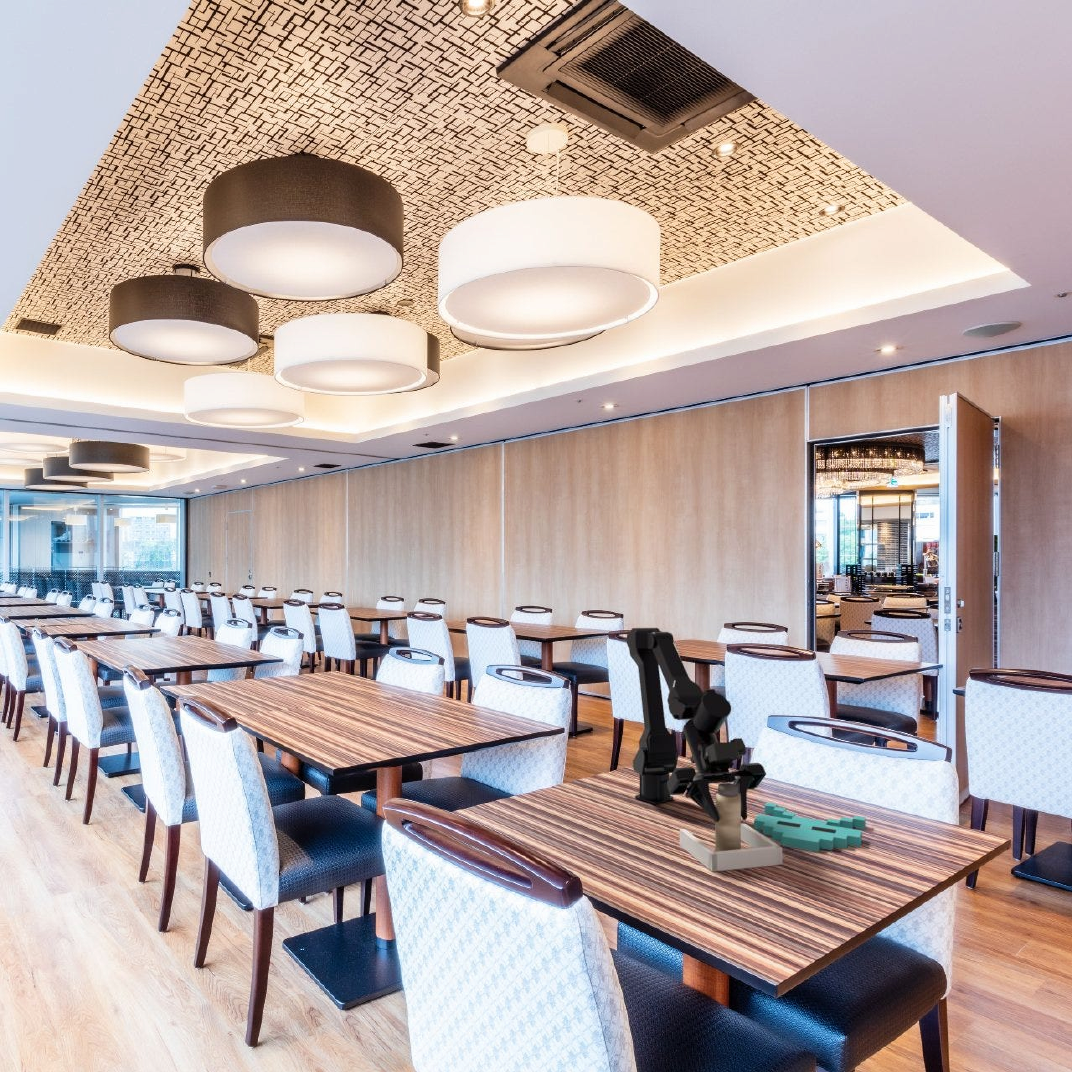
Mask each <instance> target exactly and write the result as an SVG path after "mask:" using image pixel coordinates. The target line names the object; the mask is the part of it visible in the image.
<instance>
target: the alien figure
mask: <svg viewBox="0 0 1072 1072" xmlns="http://www.w3.org/2000/svg"><path fill="white" fill-rule="evenodd" d="M866 823H867V822H866V817H864V816H858V815H853V817H846V816H845V817H843V816H841V818H840V819H835V818H828V819H827V821H826V820H821V819H820V820H819V819H813V818H807V817H803V816H796V812H790V811H787V807H786V808H785V807H780V806H779V807H778V803H774V802H773V803H772V802H766V803H765V804H764V814H761V813H758V814H757V815H756V817H755V818H754V820H753V829H754V830H756V831H762V835H764V836H771V841H777V842H781V847H788V848H794V849H800V850H805V851H811V852H816V853H819V852H820V849H823V850H829V851H833V849H834V848H835V847H836V848H840V849H847V847H848V846H853V847H857V846H858V848H860V847H861V844H862V841H863V839H862V838H863V831H862V830H865V829H866ZM853 827H856V828H855V829H854V828H853ZM859 828H861V829H859Z"/></svg>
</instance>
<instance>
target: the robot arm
mask: <svg viewBox="0 0 1072 1072" xmlns="http://www.w3.org/2000/svg"><path fill="white" fill-rule="evenodd" d="M674 641H675V639H674V635H673V634H672V633H671V632H669V631H661V630H660V629H659V627H633V628H631V630H630V632H628V633H627V635H626V645H627V647H628V650H629V651H628V652H629V655H630V657H631V660H633V661H634V663H635V664H636V666H637V669H638V679H639V689H640V696H641V708H642V716H643V717H642V718H643V724H644V726H643V727H644V728H643V729H644V730H643V731H642V733H641V736H640V738H639V741H638V751H637V752H636V754H635V756H634V758H633V759H632V766H633V767H632V768H633V771H634V772H636V773H637V774H639V793H638V794H636V795H634V798H635V799H637V800H640V801H642V802H643V801H644V802H647V803H649V804H653V805H660V804H662V803H665V802H669V801H671V800H674V796H676V795H677V796H678V795H684V796H685V798H687V799H691V800H692V801H693V802H694V803H695V804H697V805H698V806H699V807H700V808H701V809H702V810H703V811H704V812H705V813H706V814H707V815H708V816H709V817H710V818H711V819H712V820H713V821H714V822H716V823H717V822H719V816H718V812H717V809H716V807H715V801H714V799H713V797H712V794H711V791H710V784H721V783H730V784H735V785H737V786H738V793H740V794H741V819H742V820H743V821H746V820H747V819H748V800H747V798H748V797H747V796H748V795H747V794H748V791H749V790H754V789H757V788H758V786H759V785H760V784H761V782H762V781H763V780H764V779H765V777H766V776H767V773H766V770H765V767H764V765H762V764H761V763H759V762H750V763H748V762H747V763H742V764H741V766H740V767H739V768H738V769H737V770H735V771H733V770H731V771H730V770H729V769H730V768H731V769H732V768H733V766H734V762H733V761H736V760H737V761H738V760H740V759H741V757H743V756H745V755H746V754H747V747H746V745H745V742H744V739H742V737H741V738H738V737H736V738H733V739H730V741H729V742H728V741H724V742H723V741H722V742H721V741H720V742H719V741H718V739H717V736H716V734H715V733H717V732H719V731H720V730H721V728H722V727H723V725H724V724H725V722H726V720H727V718H728V717H729V716H730V714H731V711H732V705H731V702H730V701H728V700H727V698H726V697H724V696H722V695H721V694H718V693H717V692H716V690H715V688H714V689H713V688H709V689H705V690H704V691H703V690H702V688H701V686H700V685H699V684H698V683H696V682H695V681H693V680H691V678H690V676H689V674H688V672H687V670H686V667H685V665H684V663H683V661H682V658H681V656H680V654H679V652H678V650H677V648H676V647H677V646H676V645H675V643H674ZM660 672H661V673H662V675H663V678H664V680H665V683H666V686H667V688H668V691H669V693H668V695H667V699H666V700H667V704H668V710H669V713H670V715H671V717H673V719H675V720H677V721H686V723H685V724H684V725H683V728H682V732H681V734H680V735H681V736H680V738H681V739H686V741H687V744H688V747H689V750H690V753H691V757H690V762H691V764H695V767H696V768H694V767H692V766H685V767H683V766H682V767H677V765H678V759H679V752H678V749H677V745H676V744H677V743H676V742H677V741H676V740H677V739H676V735H675V734H674V733H671V732H670V731H669V729H668V728H667V727H666V719H665V711H664V710H665V709H664V701H663V694H662V693H663V692H662V691H663V690H662V684H661V674H660ZM696 770H697V771H696ZM670 774H671V775H670Z"/></svg>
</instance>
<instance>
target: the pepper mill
mask: <svg viewBox="0 0 1072 1072" xmlns="http://www.w3.org/2000/svg"><path fill="white" fill-rule="evenodd" d="M717 788H718V789H717V791H716V792H715V801H714V804H715V807H716V809H717V812H718V816H719V822H717V823H716V822H715V821H714V822H715V824H714V825H715V827H714V829H715V833H714V835H715V837H714V839H715V840H714V841H715V844H714V845H715V846H714V848H715V849H714V852H717V851H728V850H738V849H742V848H741V847H742V845H741V844H742V840H741V824H742V820H741V819H742V817H741V794H740V793H738V786H737V785H735V784H730V782H725V783H718V785H717Z"/></svg>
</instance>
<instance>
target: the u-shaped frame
mask: <svg viewBox="0 0 1072 1072" xmlns="http://www.w3.org/2000/svg"><path fill="white" fill-rule="evenodd" d="M741 842H743V843H745V844H746V845H747V846H749V848H741V849H738V850H728V851H717V852H715V850H713V849H712V848H711V847H709V846H708V845H706V844H705V843H704V842H702V841H701V840H700V839H698V838H697V837H696V836H695V835H694V834H692V833H691V832H689V831H688V830H687V829H685V828H680V829H679V846H680V847H681V848H683V849H684V850H685V851H686V852H687V853H688V854H690V855H691V856H692V857H693V858H695V860H697V861H698V862H699V863H701V864H702V865H703V866H705V868H707V869H708V870H709V871H711V873H712V872H721V871H730V870H731V871H733V870H741V869H751V868H761V867H769V866H770V867H771V866H772V867H773V866H779V865H783V846H782V845H781V846H780V845H779V844H778V843H776V842H774V840H772V839H769V837H767V836H766V835H764V834H763V833H761V832H759V831H758V830H757V829H754V827H753V828H752V827H751V826H749V825H748V824H746V823H741Z"/></svg>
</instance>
